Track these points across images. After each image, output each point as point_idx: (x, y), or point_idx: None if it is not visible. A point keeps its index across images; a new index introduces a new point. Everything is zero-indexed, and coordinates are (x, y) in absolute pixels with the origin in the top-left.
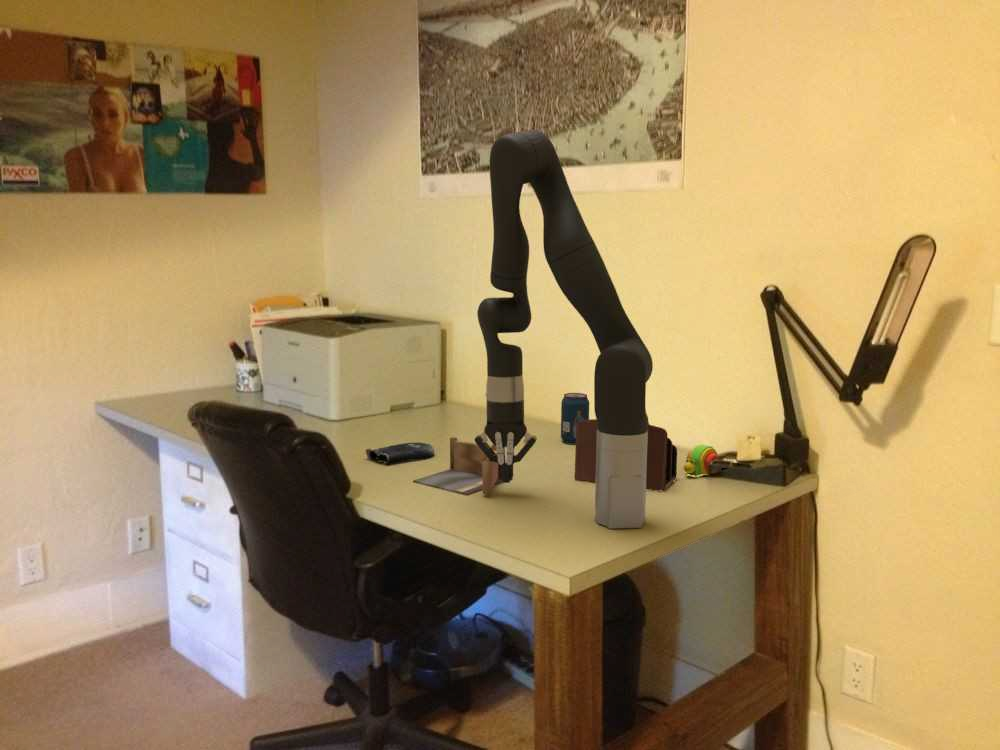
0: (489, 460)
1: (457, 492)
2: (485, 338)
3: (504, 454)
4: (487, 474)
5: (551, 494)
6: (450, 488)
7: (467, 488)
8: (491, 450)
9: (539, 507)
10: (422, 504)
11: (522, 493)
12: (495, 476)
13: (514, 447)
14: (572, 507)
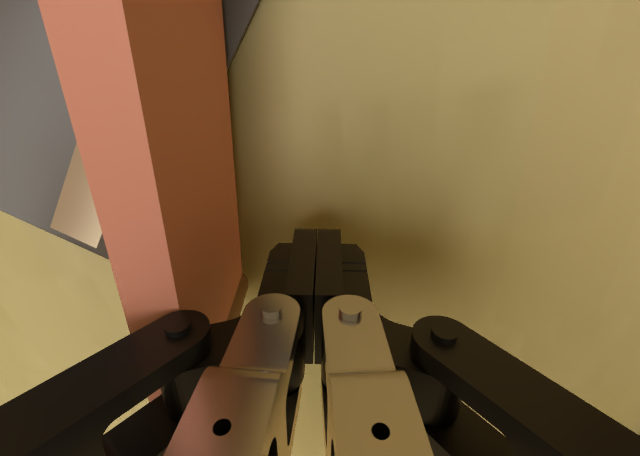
0: None
1: (75, 240)
2: None
3: (290, 367)
4: None
5: (557, 200)
6: (8, 197)
7: None
8: (133, 395)
9: None
10: (20, 377)
11: (403, 202)
12: (217, 98)
13: (411, 409)
14: (602, 350)
